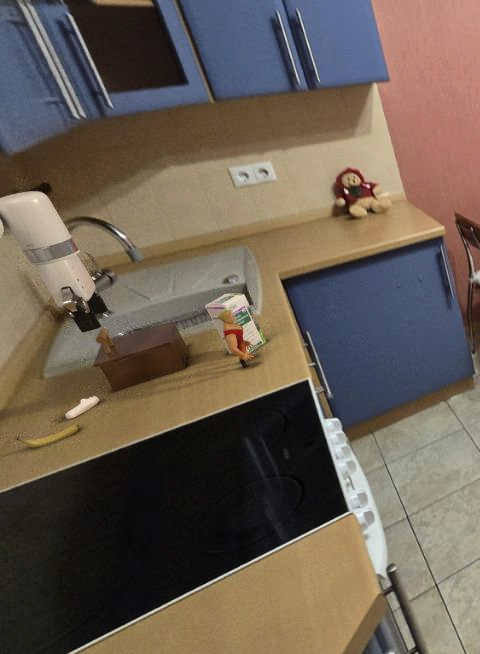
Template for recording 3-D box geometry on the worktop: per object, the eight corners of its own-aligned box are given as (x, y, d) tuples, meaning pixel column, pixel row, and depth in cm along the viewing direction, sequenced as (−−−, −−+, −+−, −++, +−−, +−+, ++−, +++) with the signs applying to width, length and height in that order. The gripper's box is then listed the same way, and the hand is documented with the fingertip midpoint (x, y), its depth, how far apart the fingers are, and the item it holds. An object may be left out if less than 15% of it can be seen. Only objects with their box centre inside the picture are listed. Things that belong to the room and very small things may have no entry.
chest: (116, 393, 119) (99, 366, 116) (123, 368, 129) (108, 343, 126) (185, 370, 126) (171, 344, 123) (187, 348, 135) (175, 324, 132)
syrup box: (249, 356, 130) (225, 304, 123) (229, 355, 131) (203, 304, 124) (267, 343, 135) (245, 292, 128) (247, 343, 136) (224, 292, 129)
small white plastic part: (66, 415, 113) (58, 404, 112) (103, 402, 116) (96, 391, 115) (64, 424, 111) (55, 412, 109) (102, 410, 114) (94, 399, 113)
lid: (94, 367, 116) (82, 347, 114) (104, 344, 125) (92, 325, 123) (171, 344, 123) (161, 325, 121) (174, 324, 132) (165, 305, 130)
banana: (25, 456, 102) (13, 440, 101) (26, 451, 103) (15, 435, 102) (83, 434, 107) (72, 418, 105) (83, 429, 108) (73, 414, 107)
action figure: (259, 371, 123) (233, 315, 117) (241, 377, 121) (213, 321, 115) (258, 353, 130) (233, 300, 124) (241, 359, 129) (215, 305, 122)
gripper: (38, 245, 116) (81, 313, 123) (15, 269, 103) (64, 343, 110) (84, 235, 119) (122, 301, 127) (67, 257, 106) (112, 330, 114)
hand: (95, 321), depth 118 cm, fingers open, 9 cm apart
